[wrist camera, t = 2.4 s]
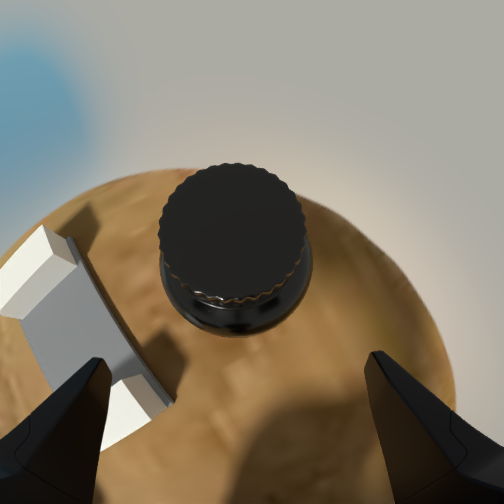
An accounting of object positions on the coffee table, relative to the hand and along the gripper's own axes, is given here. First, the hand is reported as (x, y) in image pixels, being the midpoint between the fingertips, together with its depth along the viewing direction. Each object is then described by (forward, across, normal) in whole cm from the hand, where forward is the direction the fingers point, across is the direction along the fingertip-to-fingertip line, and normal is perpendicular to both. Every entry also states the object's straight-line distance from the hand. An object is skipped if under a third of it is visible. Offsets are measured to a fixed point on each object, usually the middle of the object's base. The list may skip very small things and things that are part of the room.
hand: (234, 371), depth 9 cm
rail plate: (+8, +13, +8) cm, 17 cm away
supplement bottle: (+11, 0, +5) cm, 12 cm away
